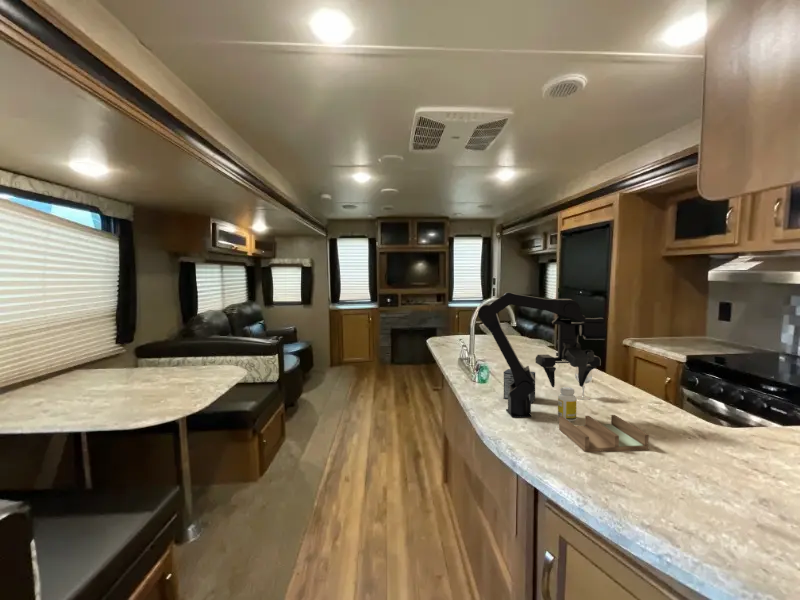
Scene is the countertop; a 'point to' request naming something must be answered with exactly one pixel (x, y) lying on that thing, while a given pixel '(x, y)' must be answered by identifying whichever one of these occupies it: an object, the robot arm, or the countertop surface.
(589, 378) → the wineglass
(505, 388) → the small box
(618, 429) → the slot rack
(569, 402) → the supplement bottle
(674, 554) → the countertop surface
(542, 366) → the robot arm
